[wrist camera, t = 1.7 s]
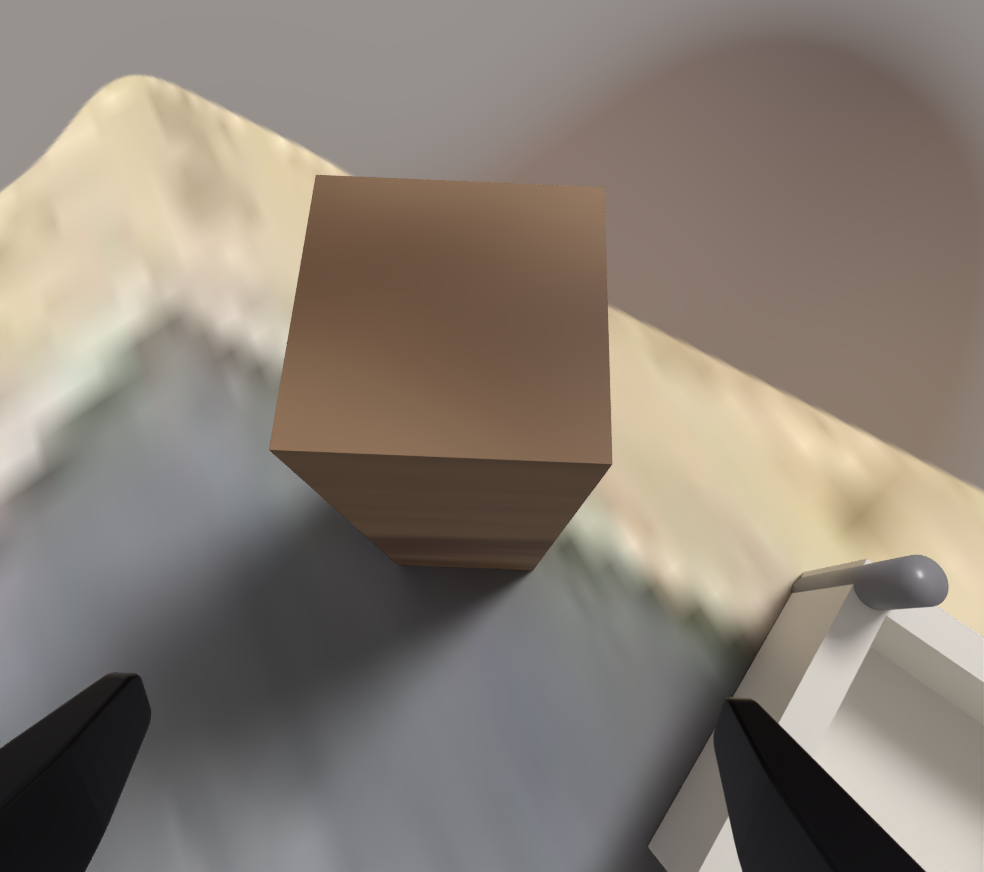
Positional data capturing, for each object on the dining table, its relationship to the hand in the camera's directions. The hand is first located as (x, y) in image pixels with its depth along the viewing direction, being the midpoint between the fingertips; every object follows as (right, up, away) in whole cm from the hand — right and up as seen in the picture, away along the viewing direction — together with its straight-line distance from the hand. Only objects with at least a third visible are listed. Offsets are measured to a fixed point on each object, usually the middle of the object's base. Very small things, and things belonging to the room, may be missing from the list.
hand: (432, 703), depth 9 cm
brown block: (0, +2, +14) cm, 14 cm away
